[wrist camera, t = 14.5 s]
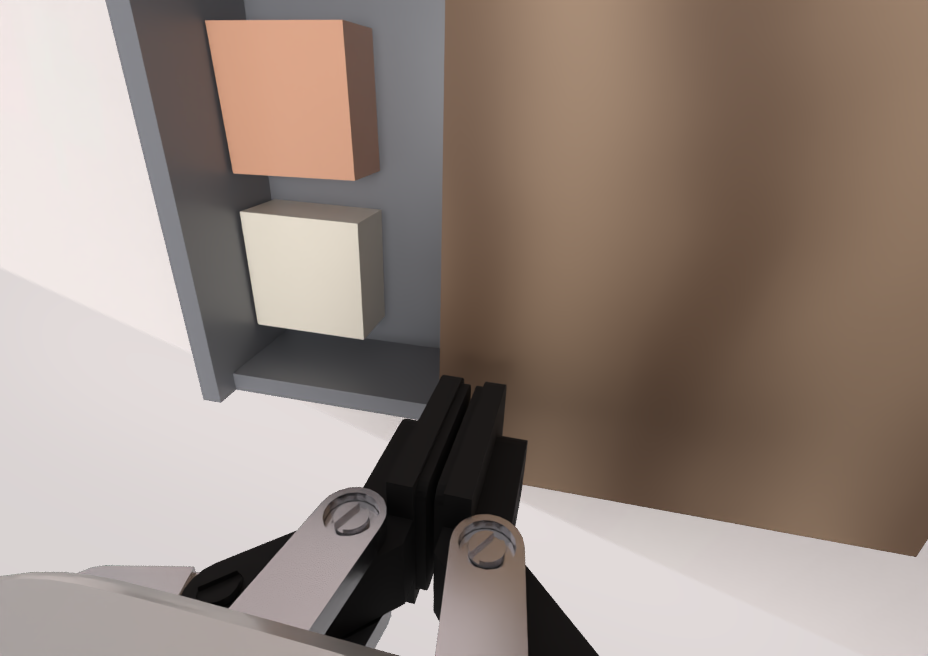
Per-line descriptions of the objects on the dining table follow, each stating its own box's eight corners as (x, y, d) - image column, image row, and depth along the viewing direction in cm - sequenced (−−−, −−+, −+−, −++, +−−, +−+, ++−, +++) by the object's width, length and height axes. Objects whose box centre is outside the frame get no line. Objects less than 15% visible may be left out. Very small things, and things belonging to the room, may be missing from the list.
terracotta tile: (205, 20, 16) (249, 28, 19) (233, 173, 19) (269, 164, 21) (342, 19, 16) (371, 28, 18) (354, 180, 18) (379, 170, 20)
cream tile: (239, 211, 19) (274, 199, 22) (257, 324, 22) (287, 302, 24) (357, 223, 18) (381, 209, 21) (363, 339, 21) (384, 315, 23)
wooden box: (1001, -74, 14) (1446, -248, 7) (803, 399, 21) (915, 556, 14) (506, -66, 16) (447, -186, 9) (481, 354, 23) (437, 468, 16)
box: (506, -85, 16) (468, -172, 11) (480, 363, 23) (450, 442, 18) (221, -78, 18) (68, -149, 12) (282, 335, 25) (203, 399, 20)
